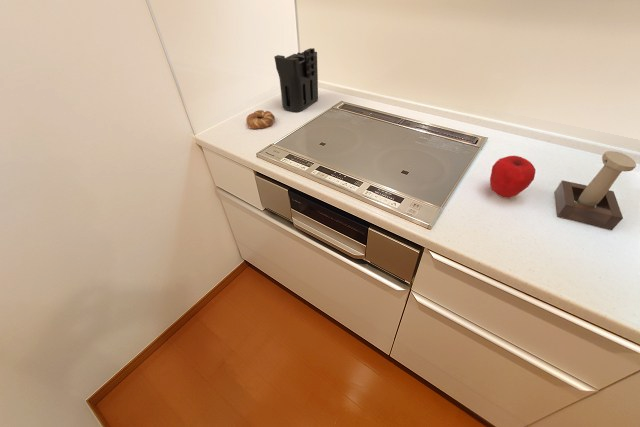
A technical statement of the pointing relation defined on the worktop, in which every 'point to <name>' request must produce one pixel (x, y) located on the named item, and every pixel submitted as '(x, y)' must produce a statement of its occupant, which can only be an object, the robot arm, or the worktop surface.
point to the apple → (511, 176)
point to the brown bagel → (260, 119)
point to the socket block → (586, 207)
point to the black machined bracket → (298, 79)
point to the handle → (606, 177)
